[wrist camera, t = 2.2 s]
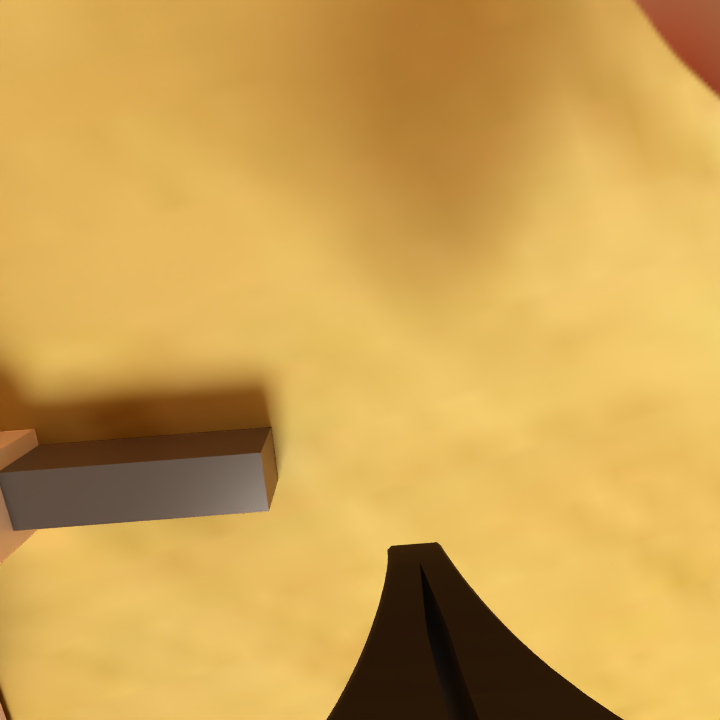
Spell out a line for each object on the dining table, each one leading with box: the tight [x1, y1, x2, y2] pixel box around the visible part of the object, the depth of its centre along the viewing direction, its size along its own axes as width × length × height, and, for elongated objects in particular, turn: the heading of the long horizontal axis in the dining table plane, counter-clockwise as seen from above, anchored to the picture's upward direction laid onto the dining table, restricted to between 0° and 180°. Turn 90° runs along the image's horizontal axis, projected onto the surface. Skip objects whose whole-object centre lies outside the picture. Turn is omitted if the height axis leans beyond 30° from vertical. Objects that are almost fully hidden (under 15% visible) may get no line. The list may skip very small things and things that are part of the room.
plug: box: [0, 427, 278, 564], centre depth 18 cm, size 4×14×4 cm, turn 94°
